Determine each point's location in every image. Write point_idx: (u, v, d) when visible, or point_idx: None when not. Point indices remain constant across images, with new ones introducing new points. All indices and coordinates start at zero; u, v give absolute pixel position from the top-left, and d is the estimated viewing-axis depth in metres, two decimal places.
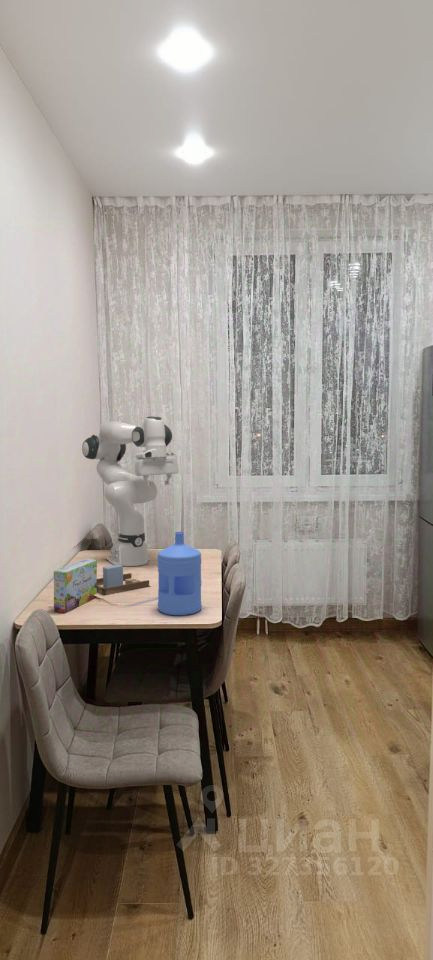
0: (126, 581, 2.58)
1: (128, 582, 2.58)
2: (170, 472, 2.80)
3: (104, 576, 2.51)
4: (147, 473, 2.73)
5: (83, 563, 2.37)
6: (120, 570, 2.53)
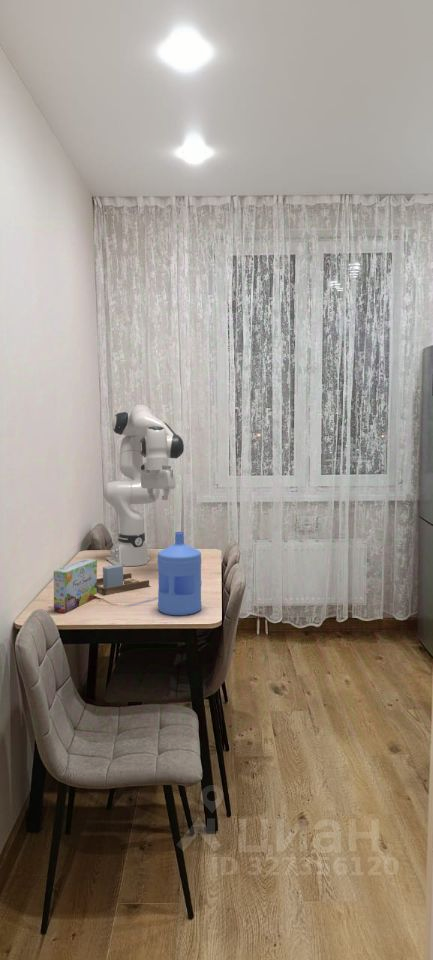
0: (125, 581, 2.58)
1: (127, 582, 2.57)
2: (162, 487, 2.57)
3: (104, 576, 2.51)
4: (146, 486, 2.65)
5: (83, 563, 2.37)
6: (120, 570, 2.53)
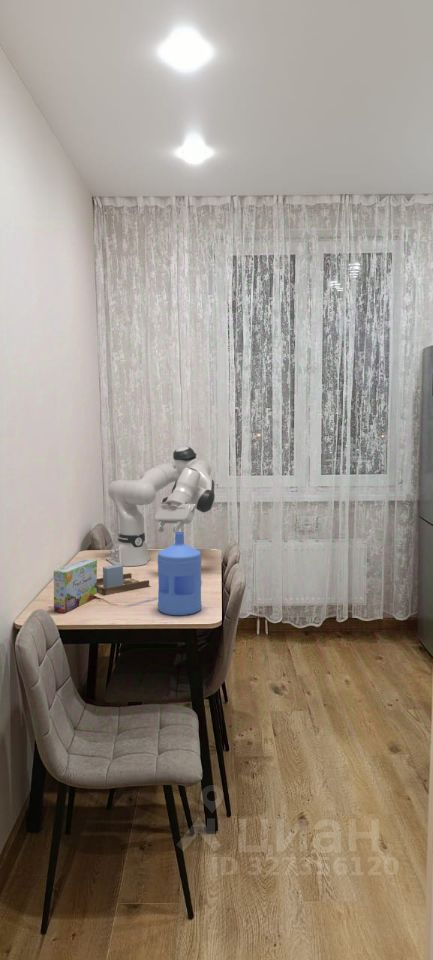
0: (124, 581, 2.58)
1: (126, 582, 2.57)
2: (178, 518, 2.58)
3: (104, 576, 2.51)
4: (160, 517, 2.66)
5: (83, 563, 2.37)
6: (120, 570, 2.53)
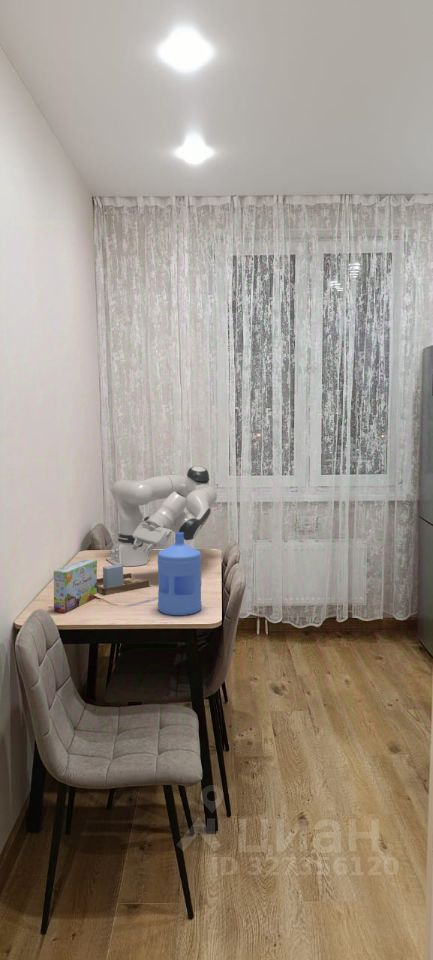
0: (124, 581, 2.58)
1: (126, 582, 2.58)
2: (151, 540, 2.55)
3: (104, 576, 2.51)
4: (137, 535, 2.64)
5: (83, 563, 2.37)
6: (120, 570, 2.53)
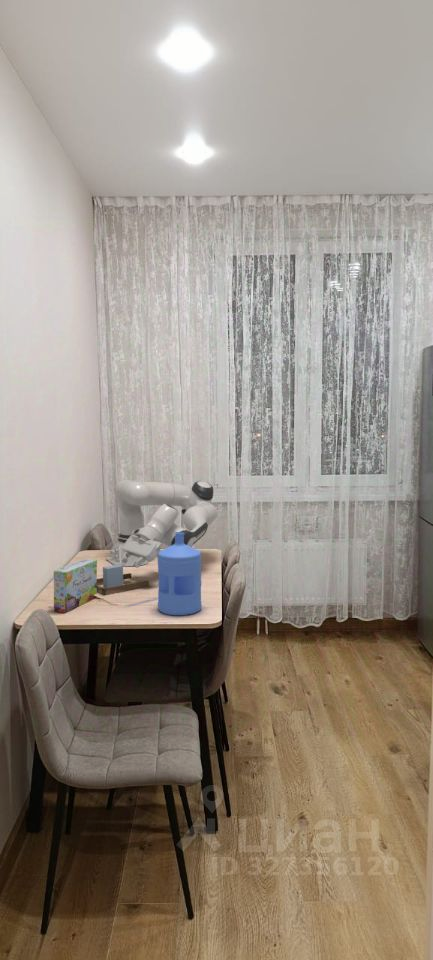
0: (124, 581, 2.58)
1: (126, 582, 2.57)
2: (141, 553, 2.52)
3: (104, 576, 2.51)
4: (126, 548, 2.61)
5: (83, 563, 2.37)
6: (120, 570, 2.53)
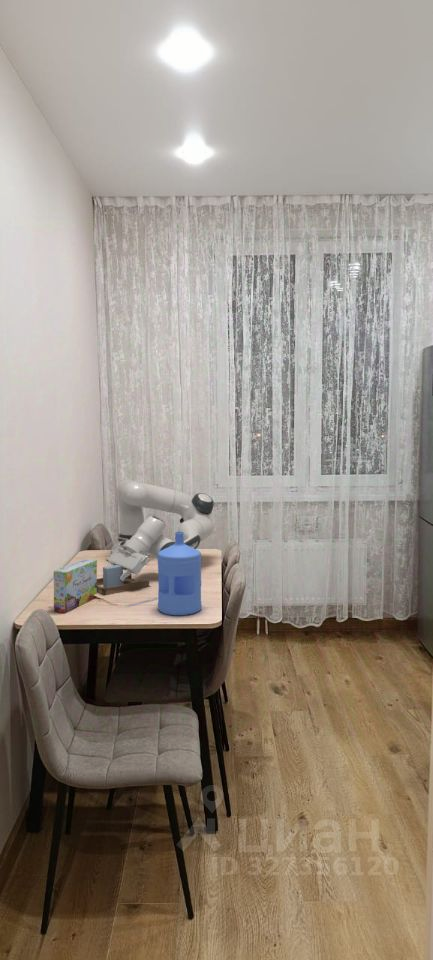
0: (123, 581, 2.58)
1: (126, 582, 2.57)
2: (127, 566, 2.49)
3: (104, 576, 2.51)
4: (113, 560, 2.59)
5: (83, 563, 2.37)
6: (120, 570, 2.53)
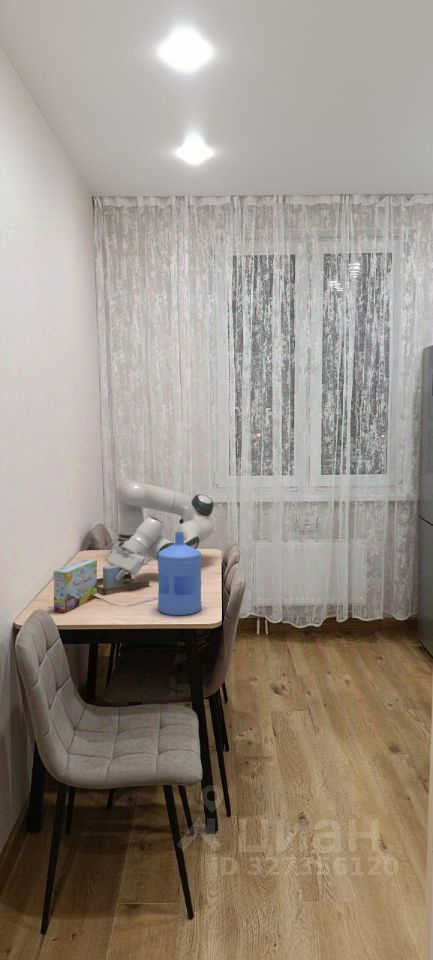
0: (123, 582, 2.58)
1: (126, 582, 2.57)
2: (125, 567, 2.49)
3: (104, 576, 2.51)
4: (111, 561, 2.59)
5: (83, 563, 2.37)
6: (120, 569, 2.53)
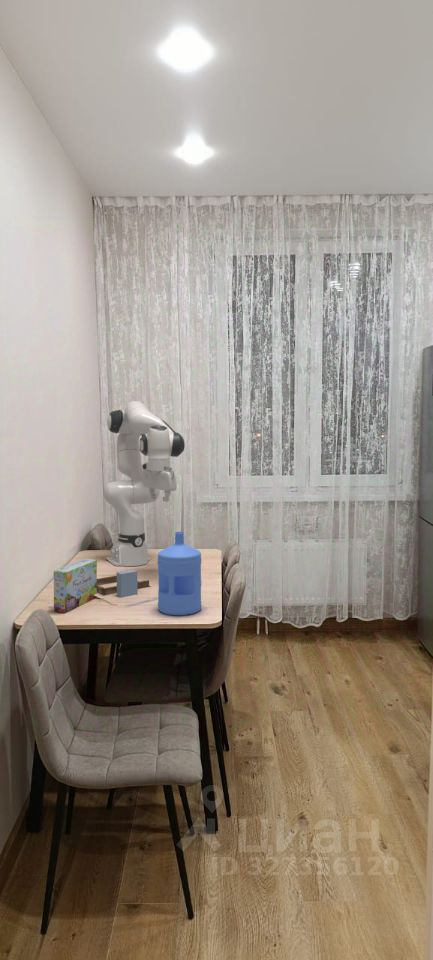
0: None
1: None
2: (163, 488, 2.53)
3: (118, 582, 2.41)
4: (147, 485, 2.62)
5: (83, 563, 2.37)
6: (135, 575, 2.43)
